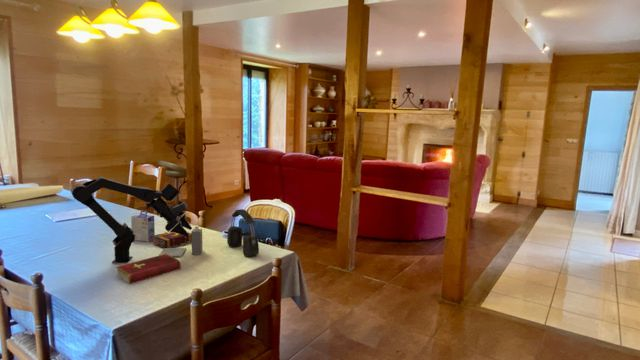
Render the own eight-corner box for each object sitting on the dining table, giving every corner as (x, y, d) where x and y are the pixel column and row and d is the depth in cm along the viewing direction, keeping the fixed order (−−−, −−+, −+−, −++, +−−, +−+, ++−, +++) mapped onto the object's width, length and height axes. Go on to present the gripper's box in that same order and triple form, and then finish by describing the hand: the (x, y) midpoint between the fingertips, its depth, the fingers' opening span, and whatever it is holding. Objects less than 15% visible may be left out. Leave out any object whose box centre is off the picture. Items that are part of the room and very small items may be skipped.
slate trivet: (181, 257, 174) (181, 255, 174) (158, 257, 173) (158, 255, 173) (186, 249, 184) (186, 247, 184) (164, 249, 183) (164, 248, 183)
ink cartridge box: (155, 238, 198) (154, 211, 196) (149, 241, 193) (147, 213, 191) (138, 236, 200) (137, 209, 198) (131, 240, 195) (130, 212, 193)
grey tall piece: (200, 254, 178) (200, 227, 176) (191, 254, 178) (191, 227, 176) (202, 251, 183) (202, 224, 180) (193, 251, 182) (193, 224, 180)
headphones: (260, 256, 179) (260, 214, 176) (248, 259, 175) (248, 216, 172) (237, 243, 196) (237, 204, 193) (225, 245, 192) (225, 206, 189)
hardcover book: (181, 270, 162) (180, 260, 161) (129, 285, 146) (128, 274, 145) (166, 262, 170) (166, 252, 169) (116, 276, 154) (115, 265, 153)
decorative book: (193, 241, 196) (192, 232, 195) (163, 250, 183) (163, 240, 182) (179, 237, 203) (179, 228, 202) (150, 244, 190) (150, 235, 189)
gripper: (172, 201, 165) (199, 225, 169) (180, 192, 183) (204, 214, 187) (153, 219, 165) (181, 243, 169) (163, 208, 184) (188, 230, 187)
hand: (189, 232), depth 178 cm, fingers open, 9 cm apart
